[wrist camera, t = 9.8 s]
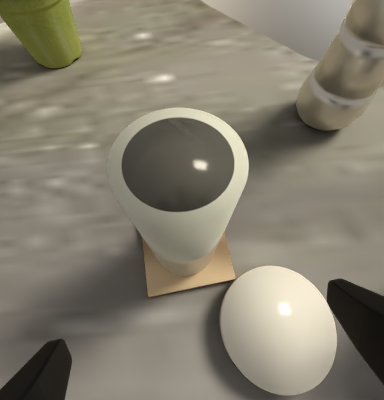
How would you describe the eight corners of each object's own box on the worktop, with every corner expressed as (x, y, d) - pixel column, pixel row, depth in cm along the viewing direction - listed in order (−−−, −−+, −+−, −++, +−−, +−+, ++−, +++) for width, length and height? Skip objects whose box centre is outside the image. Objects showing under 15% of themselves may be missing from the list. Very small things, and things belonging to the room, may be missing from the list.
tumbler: (173, 288, 18) (145, 257, 7) (144, 235, 20) (85, 139, 9) (225, 255, 19) (278, 181, 8) (194, 207, 21) (201, 91, 10)
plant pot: (91, 28, 34) (61, -58, 26) (99, 70, 30) (66, -15, 22) (24, 39, 32) (-30, -47, 25) (23, 84, 29) (-41, 0, 21)
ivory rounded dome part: (262, 416, 15) (269, 426, 14) (199, 303, 18) (200, 302, 17) (348, 343, 17) (362, 347, 16) (278, 250, 20) (284, 246, 19)
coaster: (234, 279, 19) (235, 278, 18) (149, 297, 18) (148, 296, 18) (214, 203, 22) (215, 200, 21) (140, 216, 21) (139, 213, 21)
